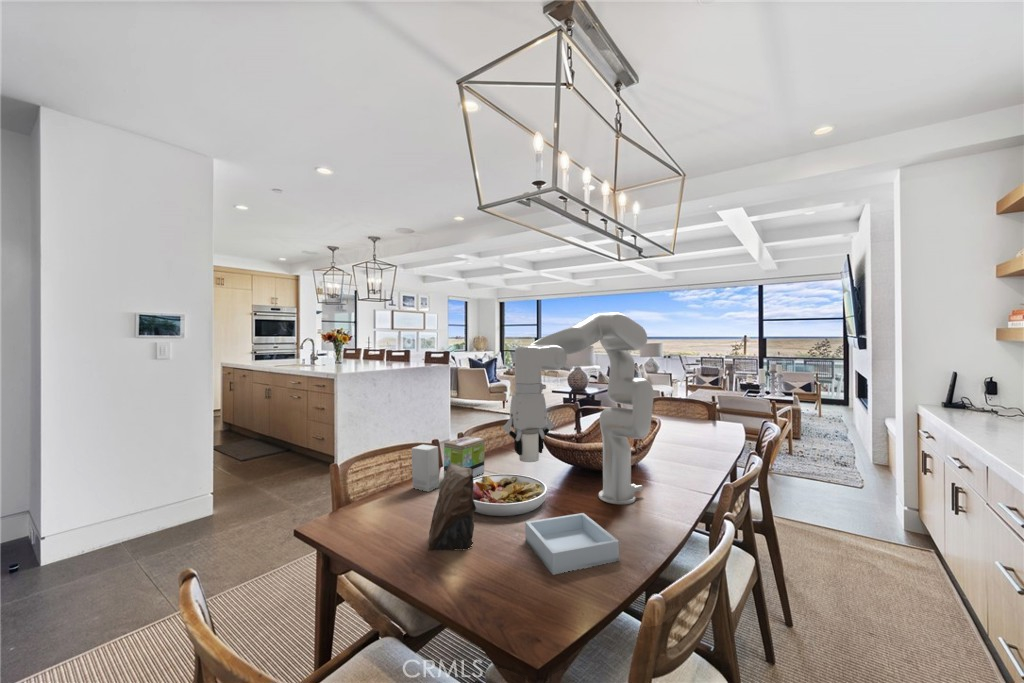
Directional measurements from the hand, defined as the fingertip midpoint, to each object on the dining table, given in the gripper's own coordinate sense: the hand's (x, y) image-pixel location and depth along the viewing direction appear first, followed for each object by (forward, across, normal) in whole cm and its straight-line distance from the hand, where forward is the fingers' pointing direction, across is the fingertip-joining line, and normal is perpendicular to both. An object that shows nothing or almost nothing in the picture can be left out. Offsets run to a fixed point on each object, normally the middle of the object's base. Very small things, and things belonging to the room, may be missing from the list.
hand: (529, 452), depth 116 cm
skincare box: (+23, +24, -48) cm, 58 cm away
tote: (+23, -7, +12) cm, 27 cm away
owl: (+23, +23, -3) cm, 33 cm away
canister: (+2, 0, 0) cm, 2 cm away
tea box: (+24, +8, -57) cm, 62 cm away
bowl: (+24, 0, -26) cm, 35 cm away
